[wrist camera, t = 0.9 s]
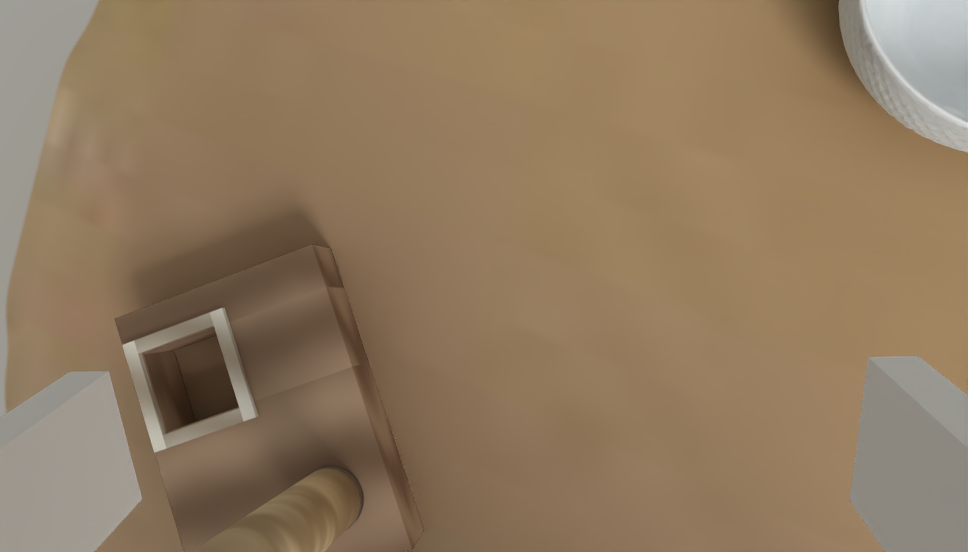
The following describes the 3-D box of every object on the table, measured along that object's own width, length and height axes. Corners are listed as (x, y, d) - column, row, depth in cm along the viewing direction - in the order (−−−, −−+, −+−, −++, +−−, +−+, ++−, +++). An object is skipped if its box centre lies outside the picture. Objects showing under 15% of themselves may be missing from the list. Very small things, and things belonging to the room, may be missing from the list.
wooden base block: (424, 530, 39) (343, 654, 25) (229, 592, 41) (53, 742, 27) (330, 248, 41) (206, 220, 27) (146, 317, 42) (-62, 324, 28)
